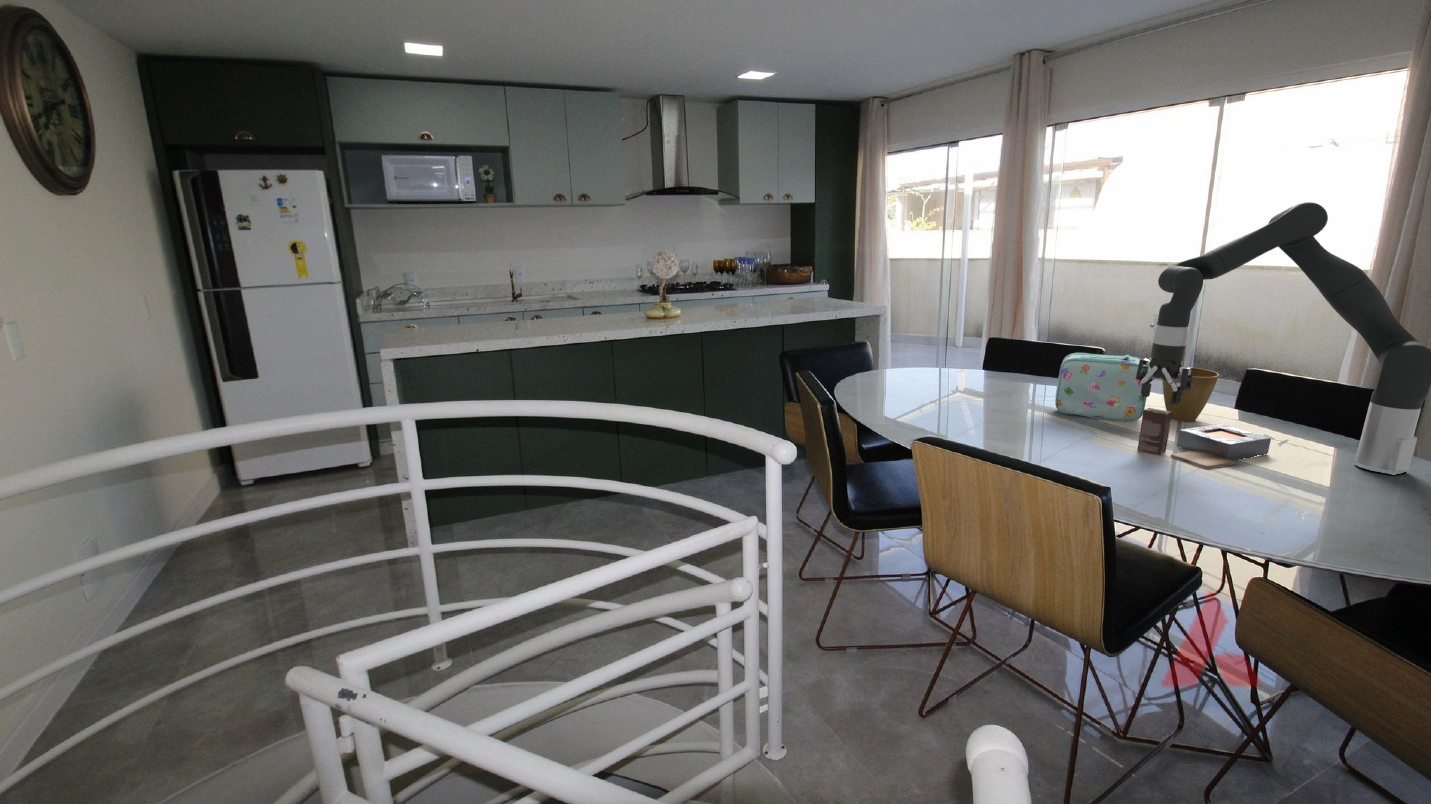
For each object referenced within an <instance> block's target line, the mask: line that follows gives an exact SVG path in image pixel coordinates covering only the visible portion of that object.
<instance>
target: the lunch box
mask: <svg viewBox="0 0 1431 804" xmlns="http://www.w3.org/2000/svg"><path fill="white" fill-rule="evenodd" d="M1141 359H1142V358H1140V357H1137V356H1131V355H1130V354H1125V355H1113V354H1110V355H1109V354H1099V353H1098V354H1097V353H1088V352H1074V353H1070V354H1067V355H1065V357H1064V358H1063V359H1062V363H1061V364H1060V368H1059V374H1058V377H1057V385H1056V392H1055V403H1054V404H1055V408H1056V409H1057V410H1058V411H1059V412H1060V413H1062V414H1066V415H1073V416H1075V415H1076V416H1081V417H1082V416H1083V417H1087V418H1093V419H1097V420H1108V421H1109V420H1110V421H1118V422H1119V421H1120V422H1135V421H1136V422H1137V421H1139V420H1140V419H1142V416H1143V410H1145V409H1146V408H1145V407H1146V404H1147V398H1148V397H1142V394H1141V388H1142V382H1141V381H1140V380H1137V379H1136V375H1137V370H1138V366H1139V361H1140V360H1141ZM1149 368H1150V366H1149V367H1148V372H1149V371H1150V369H1149ZM1148 372H1147V373H1148Z"/></svg>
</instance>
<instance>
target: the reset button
mask: <svg viewBox="0 0 1431 804" xmlns="http://www.w3.org/2000/svg"><path fill="white" fill-rule="evenodd" d="M1208 434H1212V435H1215V436H1219V437H1222V438H1226V439H1235V438H1241V437H1240V436H1237V435H1233V434H1229V433H1226V432H1222V431H1218V432H1212V433H1208Z"/></svg>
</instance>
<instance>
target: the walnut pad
mask: <svg viewBox="0 0 1431 804" xmlns="http://www.w3.org/2000/svg"><path fill="white" fill-rule="evenodd" d="M1170 458H1172V459H1176V460H1179V461H1181V462H1184V463H1187V464H1190V465H1194V466H1197V467H1199V468H1202V469H1204V470H1211V469H1214V468H1215V467H1216V468H1221V467H1226V465H1228V466H1232V465H1231V464H1234V465H1235V461H1231V460H1228V459H1225V458H1221V457H1218V456H1215V455H1212V454H1209V453H1205V452H1202V451H1199V450H1194V451H1190V450H1187V451H1182V452H1176V453H1170ZM1216 468H1215V469H1216Z"/></svg>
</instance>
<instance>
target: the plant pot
mask: <svg viewBox="0 0 1431 804" xmlns="http://www.w3.org/2000/svg"><path fill="white" fill-rule="evenodd" d="M1182 367H1183V368H1193V376H1192V384H1191V389H1190V390H1184V391H1182V395H1181V401H1180V402H1179V403H1178V404H1175V405H1173V404H1170V401H1171V396H1172V391H1174V390H1173V388H1172V386H1171V384H1169V383H1168V381H1167V380H1163V379H1161V380H1162V393H1163V401H1164V407H1165V411H1170V412H1172V417H1171V421H1177V422H1181V423H1192V422H1195V421H1196V420H1197V419H1198V418H1199V416H1200V414H1201V413H1202V412H1203V409H1205V407H1206V404H1208V401H1209V399H1210V397H1211V395H1212V394H1213V391H1214V389H1215V387H1216V384H1217V381H1218V379H1219V376H1220V373H1218V372H1216V371H1213V370H1209V369H1205V368H1199V367H1191V366H1182ZM1180 373H1181V372H1180ZM1180 373H1179V375H1180ZM1180 378H1181V375H1180ZM1173 379H1175V378H1173Z"/></svg>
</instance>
